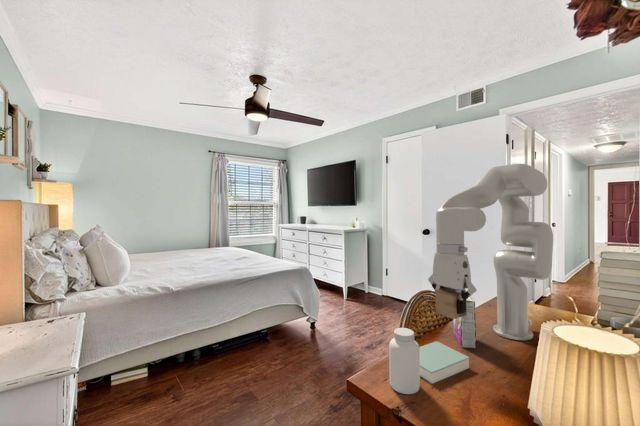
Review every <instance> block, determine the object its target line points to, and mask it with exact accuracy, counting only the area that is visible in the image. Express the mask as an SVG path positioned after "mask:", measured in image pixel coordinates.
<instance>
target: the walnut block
mask: <svg viewBox="0 0 640 426" xmlns="http://www.w3.org/2000/svg"><path fill="white" fill-rule="evenodd" d="M467 291H468V290H466V292H467ZM435 292H436V293H435ZM434 293H435V313H436V314H437V315H441V316H444V317H447V318H449V319H452V320H453V319H456V318H459V317H462V316H466V315H467V299H466V312H465V313H462V314H457V300H459V299H458V296H457V293H456V290H455V289H451V288H447V287H445V288H440V289H435V290H434ZM461 293H462V292H461Z"/></svg>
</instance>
